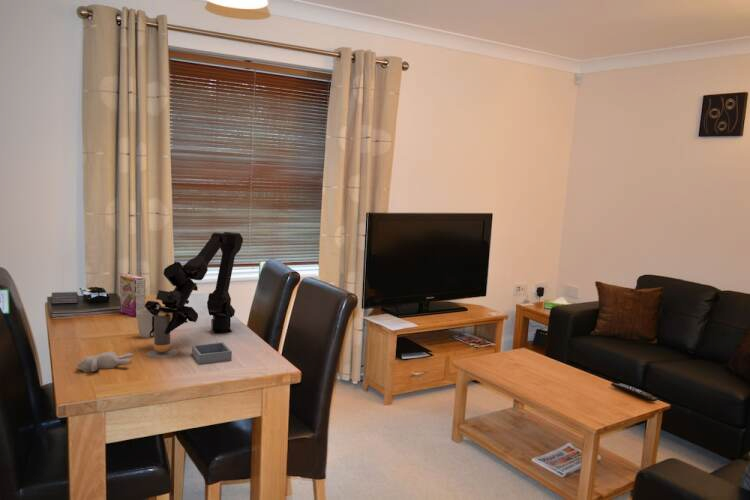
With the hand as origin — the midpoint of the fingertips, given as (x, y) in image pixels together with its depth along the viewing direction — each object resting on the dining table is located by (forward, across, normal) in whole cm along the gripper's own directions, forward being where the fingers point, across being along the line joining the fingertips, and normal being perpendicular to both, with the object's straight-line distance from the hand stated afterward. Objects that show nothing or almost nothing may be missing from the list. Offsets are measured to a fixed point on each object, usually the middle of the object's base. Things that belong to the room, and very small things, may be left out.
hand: (159, 332), depth 189 cm
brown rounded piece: (-18, -25, +31) cm, 44 cm away
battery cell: (+4, 0, +6) cm, 7 cm away
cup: (-4, -18, +17) cm, 24 cm away
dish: (+2, +17, +10) cm, 20 cm away
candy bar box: (-20, -46, +32) cm, 60 cm away
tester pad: (+5, 0, +7) cm, 9 cm away
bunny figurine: (+18, -6, -6) cm, 20 cm away
